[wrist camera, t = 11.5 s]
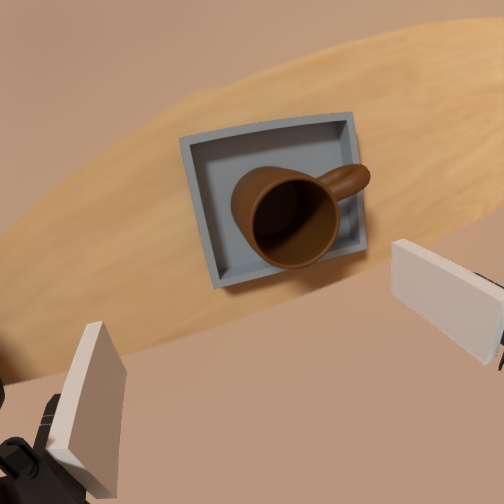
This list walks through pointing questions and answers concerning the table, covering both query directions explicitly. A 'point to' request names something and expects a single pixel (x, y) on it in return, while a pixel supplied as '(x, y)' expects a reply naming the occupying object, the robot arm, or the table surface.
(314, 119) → the tray
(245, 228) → the mug
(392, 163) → the table surface
